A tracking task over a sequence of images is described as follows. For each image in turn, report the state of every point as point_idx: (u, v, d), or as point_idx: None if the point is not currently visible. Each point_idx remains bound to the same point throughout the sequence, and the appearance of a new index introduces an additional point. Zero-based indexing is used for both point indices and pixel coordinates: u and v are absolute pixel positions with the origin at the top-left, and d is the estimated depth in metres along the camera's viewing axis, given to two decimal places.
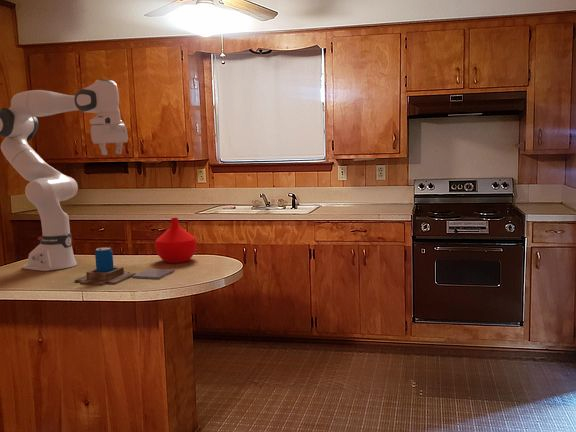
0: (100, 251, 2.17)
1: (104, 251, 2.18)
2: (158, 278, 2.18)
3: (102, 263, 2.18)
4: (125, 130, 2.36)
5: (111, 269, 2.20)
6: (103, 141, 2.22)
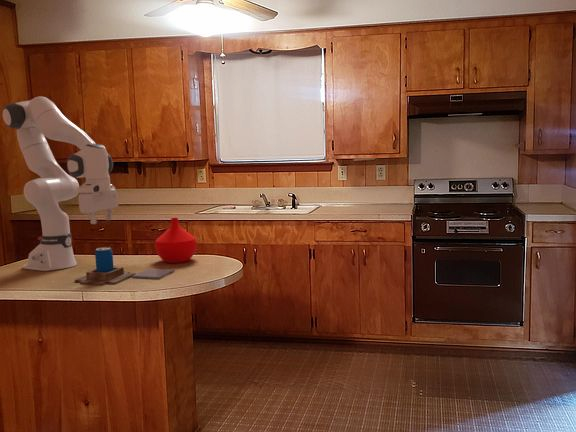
0: (100, 251, 2.17)
1: (104, 251, 2.18)
2: (158, 278, 2.18)
3: (102, 263, 2.18)
4: (115, 194, 2.24)
5: (111, 269, 2.20)
6: (92, 210, 2.10)
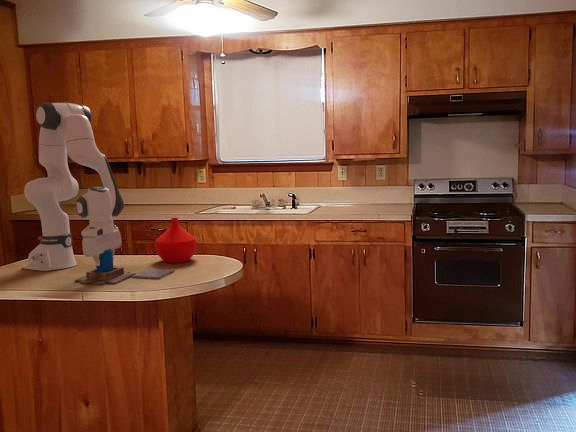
0: None
1: (104, 251, 2.18)
2: (158, 278, 2.18)
3: (102, 263, 2.18)
4: (119, 235, 2.27)
5: (111, 269, 2.20)
6: (95, 254, 2.13)
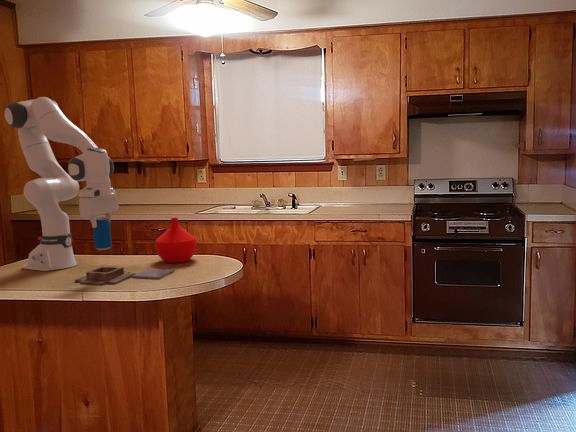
0: (97, 220, 2.16)
1: (102, 220, 2.16)
2: (158, 278, 2.18)
3: (100, 233, 2.16)
4: (116, 198, 2.25)
5: (109, 239, 2.19)
6: (92, 215, 2.11)
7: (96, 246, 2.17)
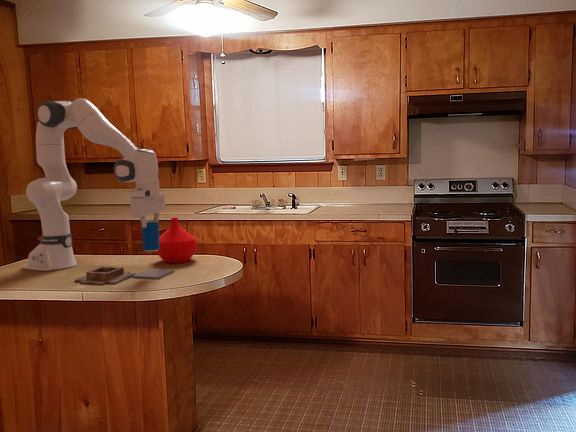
0: None
1: (151, 223, 2.20)
2: (158, 278, 2.18)
3: (149, 235, 2.20)
4: (163, 199, 2.29)
5: (157, 241, 2.22)
6: (143, 214, 2.14)
7: (145, 248, 2.21)
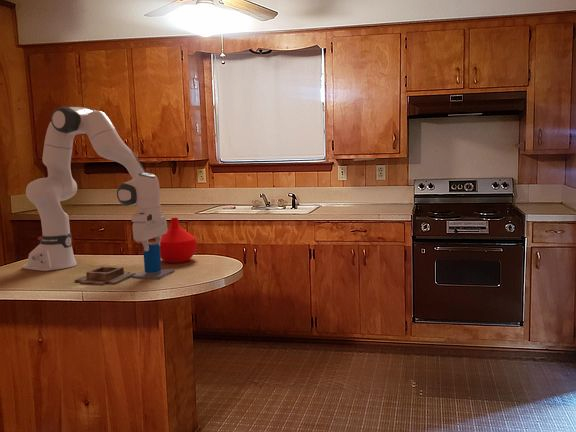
0: (149, 245, 2.21)
1: (153, 245, 2.21)
2: (158, 278, 2.18)
3: (151, 258, 2.21)
4: (165, 221, 2.30)
5: (159, 263, 2.24)
6: (145, 239, 2.16)
7: (147, 270, 2.23)
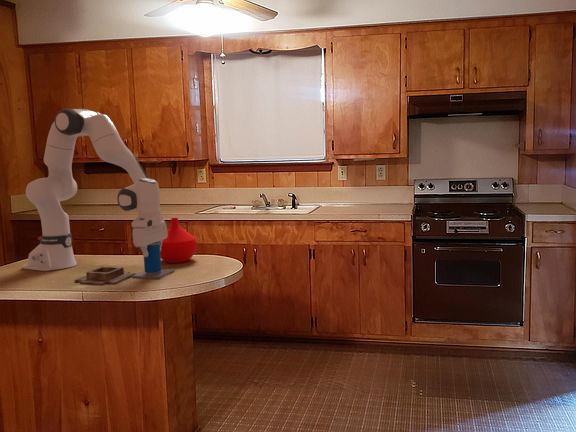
0: (149, 245, 2.21)
1: (153, 245, 2.21)
2: (158, 278, 2.18)
3: (151, 258, 2.21)
4: (165, 227, 2.30)
5: (159, 263, 2.24)
6: (145, 244, 2.16)
7: (147, 270, 2.23)
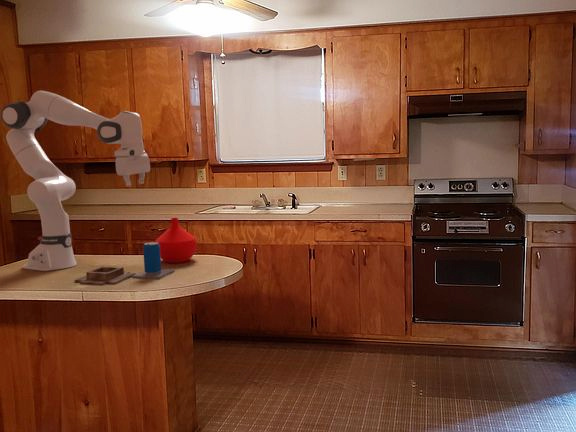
0: (149, 245, 2.21)
1: (153, 245, 2.21)
2: (158, 278, 2.18)
3: (151, 258, 2.21)
4: (148, 160, 2.39)
5: (159, 263, 2.24)
6: (127, 173, 2.25)
7: (147, 270, 2.23)
